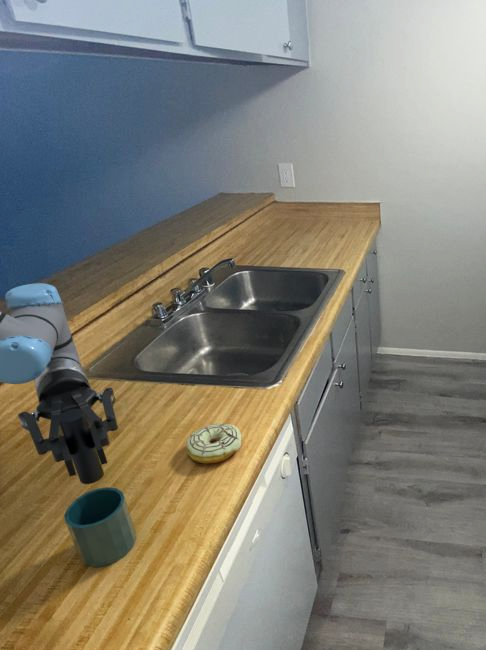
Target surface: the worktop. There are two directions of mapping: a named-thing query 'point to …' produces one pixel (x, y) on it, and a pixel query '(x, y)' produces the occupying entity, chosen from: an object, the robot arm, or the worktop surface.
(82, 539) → the cup
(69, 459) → the robot arm
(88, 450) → the black cylinder
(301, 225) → the worktop surface
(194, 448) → the decorated donut
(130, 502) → the worktop surface
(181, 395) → the worktop surface
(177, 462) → the worktop surface
